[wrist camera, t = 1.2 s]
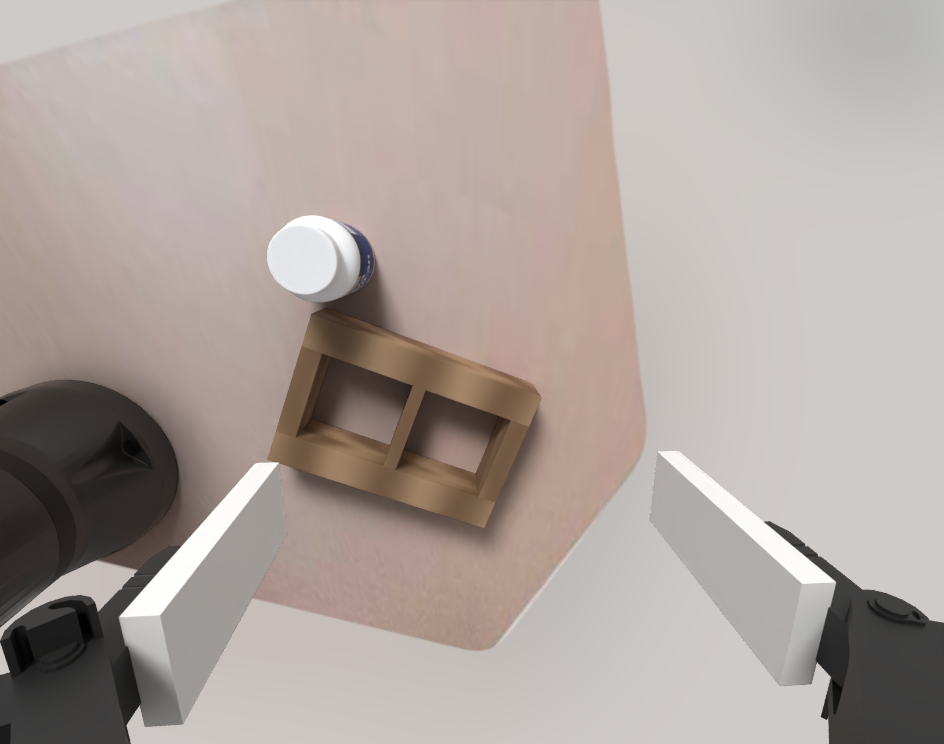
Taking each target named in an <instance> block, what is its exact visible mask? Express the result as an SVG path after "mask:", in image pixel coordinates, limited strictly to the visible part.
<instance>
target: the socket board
mask: <svg viewBox="0 0 944 744" xmlns="http://www.w3.org/2000/svg"><path fill="white" fill-rule="evenodd" d="M331 357H333V358H336V359H339V360H342V361H345V362H348V363H350V364H353V365H356V366H359V367H362V368H365V369H367V370H370V371H373V372H376V373H379V374H382V375H384V376H387V377H390V378H393V379H396V380H398V381H401V382H404V383H407V384H410V385H412V387H411V390H410V392H409V395H408V398H407V401H406V403H405V406H404V409H403V411H402V414H401V417H400V419H399V422H398V425H397V428H396V430H395V433H394V436H393V438H392V441H391V444H390V445H388V444H385V443H382V442H379V441H376V440H373V439H370V438H367V437H364V436H361V435H358V434H355V433H352V432H349V431H346V430H343V429H340V428H337V427H334V426H331V425H328V424H325V423H322V422H319V421H316V420H313V419H311V418H312V415H313V412H314V409H315V406H316V402H317V399H318V396H319V393H320V390H321V387H322V384H323V381H324V378H325V374H326V371H327V368H328V365H329V362H330V359H331ZM426 390H427V391H430V392H432V393H435V394H438V395H441V396H444V397H446V398H449V399H452V400H455V401H458V402H461V403H463V404H466V405H469V406H472V407H475V408H478V409H480V410H483V411H486V412H489V413H492V414H494V415H497V416H500V417H499V420H498V422H497V424H496V427H495V429H494V431H493V434H492V436H491V439H490V441H489V443H488V446H487V448H486V450H485V453H484V455H483V457H482V460H481V462H480V464H479V467H478V469H477V472H476V474H475V473H472V472H469V471H466V470H463V469H460V468H457V467H454V466H451V465H448V464H445V463H442V462H439V461H436V460H433V459H430V458H427V457H424V456H421V455H418V454H415V453H412V452H409V451H406V450H403V449H404V446H405V444H406V441H407V438H408V436H409V433H410V430H411V428H412V425H413V422H414V420H415V417H416V414H417V412H418V409H419V407H420V404H421V401H422V399H423V396H424V393H425V391H426ZM540 401H541V396H540V395H539V393H538V391H537V390H536V388H535V387H534V385H533V384H532V383H530V382H527V381H524V380H521V379H519V378H516V377H513V376H511V375H508V374H505V373H502V372H500V371H497V370H494V369H492V368H489V367H486V366H483V365H481V364H478V363H475V362H473V361H470V360H467V359H464V358H462V357H459V356H456V355H454V354H451V353H448V352H445V351H443V350H440V349H437V348H435V347H432V346H429V345H426V344H424V343H421V342H418V341H416V340H413V339H410V338H407V337H405V336H402V335H399V334H397V333H394V332H391V331H388V330H386V329H383V328H380V327H378V326H375V325H372V324H369V323H367V322H364V321H361V320H359V319H356V318H353V317H350V316H348V315H345V314H342V313H340V312H337V311H334V310H331V309H329V308H325V309H322V310H320V311H318V312H315V313H313V314H311V318H310V321H309V324H308V328H307V331H306V334H305V337H304V341H303V344H302V347H301V351H300V354H299V357H298V360H297V364H296V367H295V370H294V374H293V377H292V380H291V383H290V387H289V390H288V393H287V397H286V400H285V403H284V406H283V410H282V413H281V416H280V420H279V423H278V426H277V429H276V433H275V436H274V439H273V443H272V446H271V449H270V453H269V456H268V459H267V460H270V461H273V462H277V463H278V462H279V463H280V464H283V465H286V466H289V467H292V468H295V469H299V470H302V471H305V472H308V473H311V474H314V475H318V476H321V477H324V478H327V479H330V480H333V481H337V482H340V483H343V484H346V485H349V486H352V487H355V488H359V489H362V490H365V491H368V492H371V493H374V494H378V495H381V496H384V497H387V498H390V499H393V500H397V501H400V502H403V503H406V504H409V505H412V506H415V507H419V508H422V509H425V510H428V511H431V512H434V513H438V514H441V515H444V516H447V517H450V518H453V519H456V520H460V521H463V522H466V523H469V524H472V525H475V526H479V527H482V528H484V527H485V525H486V523H487V520H488V518H489V516H490V514H491V511H492V509H493V507H494V505H495V502H496V500H497V498H498V496H499V493H500V491H501V489H502V487H503V484H504V482H505V480H506V478H507V475H508V473H509V471H510V469H511V466H512V464H513V462H514V459H515V457H516V455H517V453H518V450H519V448H520V446H521V444H522V441H523V439H524V437H525V435H526V432H527V430H528V428H529V426H530V423H531V421H532V419H533V417H534V414H535V412H536V410H537V408H538V405H539V403H540Z"/></svg>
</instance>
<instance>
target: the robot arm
mask: <svg viewBox="0 0 944 744" xmlns="http://www.w3.org/2000/svg"><path fill="white" fill-rule="evenodd" d="M176 488H177V466H176V460H175V457H174V453H173V450H172V448H171V445H170V443H169V441H168V439H167V438H166V436H165V434H164V433H163V431H162V430H161V428H160V427H159V426H158V424H157V423H156V422H155V421H154V420H153V418H152V417H151V416H150V415H149V414H148V413H147V412H146V411H144V410H143V409H142V408H141V407H140V406H138V405H137V404H136V403H134V402H133V401H131V400H130V399H128V398H127V397H125V396H123V395H122V394H120V393H118V392H116V391H113V390H111V389H109V388H106V387H103V386H100V385H97V384H93V383H89V382H84V381H76V380H55V381H48V382H43V383H39V384H36V385H33V386H30V387H26V388H23V389H20V390H17V391H14V392H11V393H9V394H6V395H4V396H2V397H0V627H1V626H2V625H4V624H5V623H6V622H7V621H8V620H9V619H10V618H12V617H13V616H14V615H15V614H17V613H18V612H19V611H20V610H21V609H22V608H24V607H25V606H26V605H27V604H28V603H30V602H31V601H32V600H33V599H34V598H35V597H37V596H38V595H39V594H40V593H41V592H42V591H44V590H45V589H46V588H47V587H48V586H50V585H51V584H52V583H53V582H54V581H56V580H57V579H58V578H60V577H61V576H63V575H65V574H67V573H69V572H71V571H74V570H76V569H78V568H80V567H82V566H84V565H87V564H89V563H91V562H93V561H95V560H97V559H99V558H102V557H106V556H109V555H111V554H114V553H116V552H119V551H121V550H123V549H125V548H127V547H128V546H130V545H132V544H133V543H135V542H136V541H138V540H139V539H140V538H141V537H143V536H144V535H145V534H146V533H147V532H148V531H149V530H150V529H151V528H153V527H154V526H155V525H156V524H157V523H158V522H159V521H160V520H161V519H162V518H163V517H164V515H165V514H166V513H167V511H168V509H169V508H170V506H171V504H172V501H173V499H174V496H175V493H176ZM650 521H651V523H652V524H653V525H654V526H655V528H656V529H657V530H658V532H659V533H660V534H661V535H662V537H663V538H664V539H665V540H666V542H667V543H668V544H669V545H670V547H671V548H672V549H673V551H674V552H675V553H676V554H677V556H678V557H679V558H680V560H681V561H682V562H683V563H684V565H685V566H686V567H687V568H688V570H689V571H690V572H691V574H692V575H693V576H694V577H695V579H696V580H697V581H698V583H699V584H700V585H701V586H702V588H703V589H704V590H705V591H706V593H707V594H708V595H709V597H710V598H711V599H712V600H713V602H714V603H715V604H716V606H717V607H718V608H719V609H720V611H721V612H722V613H723V614H724V616H725V617H726V618H727V619H728V621H729V622H730V623H731V625H732V626H733V627H734V628H735V630H736V631H737V632H738V634H739V635H740V636H741V637H742V639H743V640H744V641H745V642H746V643H747V645H748V646H749V648H750V649H751V650H752V651H753V653H754V654H755V655H756V657H757V658H758V659H759V660H760V661H761V663H762V664H763V665H764V667H765V668H766V669H767V671H768V672H769V673H770V674H771V676H772V677H773V678H774V680H775V681H776V682H777V683H778V685H779V686H790V685H805V684H812V680H813V676H814V672H815V668H816V664H817V662H818V664H820V666H821V667H822V668H823V669H824V670H825V671H826V672H827V673H828V674H829V675H830V676H831V679H830V683H829V687H828V691H827V695H826V699H825V703H824V707H823V711H822V715H821V717H822V718H824V719H826V720H827V719H828V721H829V744H944V623H941V622H936V621H930V620H929V619H928V617H927V616H925V615H924V614H923V613H922V612H921V611H919V610H918V609H917V608H916V607H914V606H912V605H910V604H909V603H907V602H905V601H904V600H902V599H899V598H897V597H894V596H892V595H889V594H887V593H883V592H879V591H875V590H862V589H861V588H860V587H858V586H857V585H856V584H854V583H853V582H852V581H851V580H850V579H848V578H847V577H846V576H845V575H843V574H842V573H841V572H840V571H838V570H837V569H836V568H834V567H833V566H832V565H831V564H829V563H828V562H827V561H826V560H824V559H823V558H822V557H818V554H817V553H816V552H814V551H813V550H812V549H810V548H809V547H808V546H807V547H806V546H805V544H804V543H803V542H802V541H801V540H799V539H798V538H797V537H795V536H794V535H793V534H792V533H791V532H789V531H787V530H785V529H783V528H781V527H779V526H777V525H775V524H773V523H772V522H770V521H769V522H763V521H762V520H761V519H759V518H758V517H757V516H756V515H755V514H753V513H752V512H751V511H750V510H748V509H747V508H746V507H745V506H744V505H743V504H741V503H740V502H739V501H737V500H736V499H735V498H734V497H733V496H732V495H731V494H729V493H728V492H727V491H726V490H725V489H723V488H722V487H721V486H720V485H718V484H717V483H716V482H715V481H714V480H712V479H711V478H710V477H709V476H708V475H706V474H705V473H704V472H703V471H702V470H700V469H699V468H698V467H697V466H696V465H694V464H693V463H692V462H691V461H690V460H688V459H687V458H686V457H685V456H684V455H682V454H681V453H680V452H679V451H667V452H657V461H656V469H655V479H654V487H653V496H652V504H651V513H650ZM286 536H287V526H286V518H285V510H284V501H283V493H282V484H281V476H280V467H279V462H278V463H255V464H254V465H253V467H252V468H251V469H250V470H249V471H248V472H247V473H246V474H245V476H244V477H243V478H242V479H241V480H240V481H239V482H238V483H237V485H236V486H235V487H234V488H233V489H232V490H231V491H230V492H229V494H228V495H227V496H226V497H225V498H224V499H223V500H222V502H221V503H220V504H219V505H218V506H217V507H216V508H215V509H214V511H213V512H212V513H211V514H210V515H209V516H208V517H207V518H206V520H205V521H204V522H203V523H202V524H201V525H200V526H199V527H198V529H197V530H196V531H195V532H194V533H193V534H192V535H191V536H190V538H189V539H188V540H187V541H186V542H185V543H184V544H183V545H182V546H169V547H167V548H166V549H164V550H162V551H161V552H159V553H158V554H156V555H155V556H153V557H152V558H150V559H148V560H147V562H146V563H145V564H144V565H143V566H142V567H141V568H140V569H139V570H138V571H137V572H136V573H135V574H134V577H131V578H130V579H129V580H128V582H126V584H124V586H123V588H122V590H119V591H118V592H117V593H116V594H115V595H114V596H113V597H112V598H111V599H110V600H109V601H108V602H107V603H106V604H105V605H104V606H103V607H102V609H101V610H100V611H99V612H97V608H96V604H95V602H94V601H93V600H92V598H91V597H87V596H82V595H77V596H68V597H64V598H60V599H57V600H54V601H50V602H48V603H45V604H43V605H41V606H39V607H37V608H35V609H33V610H31V611H29V612H28V613H26V614H25V615H23V616H22V617H20V618H19V619H17V620H15V621H14V622H13V623H12V624H11V625H10V626H9V627H8V628H7V629H6V630H5V631H4V633H3V636H2V638H1V640H0V643H1V646H2V649H3V652H4V655H5V658H6V661H7V664H8V667H9V670H10V673H6V674H3V675H0V744H131V743H130V738H129V734H128V730H127V726H126V725H127V723H128V722H129V720H130V719H131V717H132V716H133V714H134V713H135V711H136V710H137V708H138V707H139V705H140V708H141V712H142V717H143V721H144V725H145V727H151V726H165V725H181V724H184V722H185V720H186V718H187V716H188V714H189V713H190V711H191V709H192V707H193V705H194V704H195V701H196V700H197V698H198V696H199V694H200V692H201V691H202V689H203V687H204V685H205V683H206V682H207V679H208V678H209V676H210V674H211V673H212V671H213V669H214V667H215V665H216V663H217V662H218V660H219V657H220V656H221V654H222V652H223V651H224V649H225V647H226V645H227V643H228V642H229V640H230V638H231V636H232V634H233V632H234V631H235V629H236V627H237V625H238V623H239V621H240V620H241V618H242V616H243V614H244V612H245V610H246V609H247V607H248V605H249V603H250V601H251V600H252V598H253V596H254V594H255V592H256V591H257V589H258V587H259V585H260V583H261V581H262V580H263V578H264V576H265V574H266V572H267V570H268V569H269V567H270V565H271V563H272V561H273V560H274V558H275V556H276V554H277V552H278V550H279V549H280V547H281V545H282V543H283V541H284V540H285V538H286Z"/></svg>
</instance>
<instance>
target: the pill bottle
mask: <svg viewBox="0 0 944 744" xmlns="http://www.w3.org/2000/svg"><path fill="white" fill-rule="evenodd" d="M267 263H268V267H269V270H270V272H271V274H272V276H273V277H274V279H275V280H276V281H277V283H278V284H279V285H281V286H282V287H283V288H284V289H286V290H288V291H290V292H291V293H293V294H294V295H296V296H297V297H299V298H301V299H304V300H307V301H311V302H328V301H332V300H336V299H338V298H341V297H344V296H347V295H349V294H352V293H355V292H357V291H358V290H360V289H361V288H363V287H364V286H365V285H366V284H367V283H368V281H369V280H370V278H371V276H372V274H373V271H374V266H375V256H374V251H373V248H372V246H371V244H370V242H369V241H368V239H367V238H366V237H365V235H364V234H363V233H361V232H360V231H359V230H357V229H356V228H354V227H352V226H350V225H347V224H344V223H341V222H338V221H335V220H332V219H329V218H326V217H321V216H314V215H313V216H303V217H300V218H297V219H294V220H293V221H291V222H289V223H288V224H287V225H286V226H285V227H284V228H283V229H281V230H280V231H279V232H277V233H276V234H275V236H274V237H273V238H272V240H271V242H270V244H269V247H268V251H267Z"/></svg>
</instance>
